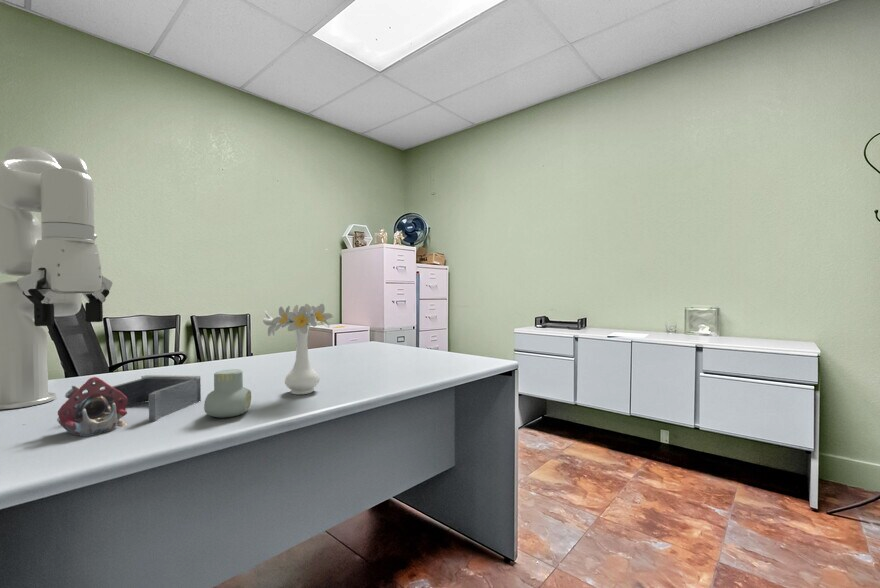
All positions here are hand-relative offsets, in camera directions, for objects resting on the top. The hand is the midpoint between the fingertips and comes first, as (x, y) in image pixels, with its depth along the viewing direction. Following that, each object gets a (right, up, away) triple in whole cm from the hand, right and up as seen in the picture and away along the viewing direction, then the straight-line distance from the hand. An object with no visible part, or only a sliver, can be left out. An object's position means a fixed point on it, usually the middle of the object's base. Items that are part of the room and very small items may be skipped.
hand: (70, 323), depth 77 cm
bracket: (0, -22, +20) cm, 30 cm away
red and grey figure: (-1, -23, +6) cm, 24 cm away
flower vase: (+32, -22, +35) cm, 52 cm away
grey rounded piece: (+22, -23, +16) cm, 35 cm away
